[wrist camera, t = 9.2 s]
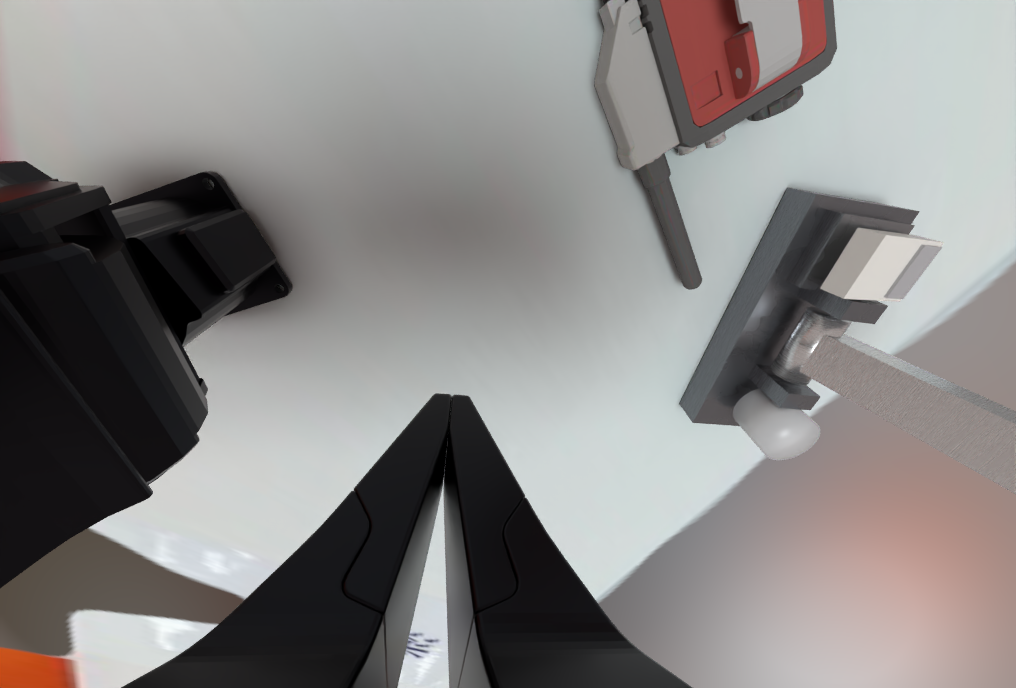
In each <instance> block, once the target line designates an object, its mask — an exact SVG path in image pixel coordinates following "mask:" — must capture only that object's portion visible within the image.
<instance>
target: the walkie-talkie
mask: <svg viewBox="0 0 1016 688" xmlns="http://www.w3.org/2000/svg"><path fill="white" fill-rule="evenodd" d="M603 1H604V4H605V5H604V6H603V7H602V8H601V9H600V10H599V13H600V16H601V19H602V22H603V25H604V33H603V38H602V43H601V49H600V54H599V60H598V65H597V71H596V76H595V88H596V91H597V93H598V96H599V98H600V101H601V104H602V106H603V109H604V112H605V114H606V117H607V120H608V122H609V125H610V128H611V130H612V133H613V135H614V138H615V141H616V143H617V146H618V151H617V155H618V157H619V160H620V162H621V165H622V167H624V168H627V169H630V170H637V169H638V172H639V174H640V177H641V180H642V183H643V185H644V187H647V188H648V191H649V193H650V196H651V199H652V201H653V204H654V207H655V210H656V212H657V215H658V218H659V220H660V223H661V226H662V229H663V231H664V234H665V237H666V240H667V242H668V245H669V248H670V250H671V253H672V256H673V259H674V261H675V264H676V267H677V269H678V272H679V275H680V278H681V280H682V283H683V286H684V287H685V288H687V289H695V288H697V287H699V285H700V284H701V282H702V278H701V274H700V271H699V268H698V265H697V262H696V259H695V256H694V253H693V250H692V247H691V244H690V241H689V238H688V235H687V232H686V229H685V226H684V222H683V219H682V216H681V213H680V210H679V207H678V204H677V201H676V198H675V195H674V192H673V189H672V186H671V183H670V180H669V176H670V173H671V172H670V169H669V166H668V163H667V160H666V157H665V154H664V153H665V152H666V151H668V150H670V149H671V148H675V149H678V152H679V155H685V154H688V153H690V152H692V151H694V150H695V149H696V148H697V146H698V145H700V144H702V143H704V142H705V145H706V148H711V147H714V146H716V145H719V144H720V143H722V142H723V141H725V139H726V136H725V131H726V130H727V129H729V128H731V127H732V126H734V125H736V124H737V123H739V122H740V121H742V120H744V119H745V118H747V119H748V120H751V121H759V120H763V119H766V118H769V117H771V116H774V115H776V114H778V113H781V112H783V111H785V110H787V109H788V108H790V107H792V106H793V105H794V104H796V103H797V102H798V101H799V100H800V98H801V97H802V96H803V86H802V85H801V84H803V83H805V82H806V81H808V80H810V79H811V78H813V77H815V76H816V75H818V74H819V73H821V72H822V71H823V70H824V69H825V68H826V67H828V66H829V65H830V64H831V61H832V59H833V56H834V54H835V52H836V49H837V43H836V30H835V18H834V5H833V0H603Z"/></svg>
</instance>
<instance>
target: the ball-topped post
mask: <svg viewBox="0 0 1016 688" xmlns="http://www.w3.org/2000/svg"><path fill="white" fill-rule="evenodd" d="M850 324H851V321H845V320H839V319H838V318H836V317H834V316H832V315H830V314H828V313H827V312H825V311H823V310H821V309H819V308H818V307H807V309H806V311H805V312H804V314H803V315H802V317H801V319H800V320H799V322H798V323H797V325H796V327H795V328H794V330H793V332H792V333H791V335H790V336H789V338H788V340H787V341H786V343H785V344H784V346H783V348H782V349H781V351H780V352H779V354H778V356H777V357H776V359H775V360H774V362H773V364H772V365H771V367H770V369H771V371H772V372H773V373H774V374H776V375H777V376H779V377H780V378H782V379H784V380H786V381H788V382H791V383H794V384H798V385H807V384H808V383H809V382H810V381H811V379H814V380H815V381H817V382H819V383H821V384H822V385H824V386H826V387H828V388H829V389H831V390H833V391H835V392H837V393H838V394H840V395H842V396H844V397H845V398H847V399H849V400H851V401H852V402H854V403H856V404H858V405H860V406H861V407H863V408H865V409H867V410H868V411H870V412H872V413H874V414H875V415H877V416H879V417H881V418H882V419H884V420H886V421H888V422H890V423H891V424H893V425H895V426H896V427H898V428H900V429H902V430H903V431H905V432H907V433H909V434H911V435H912V436H914V437H916V438H918V439H919V440H921V441H923V442H925V443H927V444H928V445H930V446H932V447H933V448H935V449H937V450H939V451H940V452H942V453H944V454H946V455H948V456H949V457H951V458H953V459H955V460H956V461H958V462H960V463H962V464H963V465H965V466H967V467H969V468H971V469H972V470H974V471H976V472H977V473H979V474H981V475H983V476H984V477H986V478H988V479H990V480H992V481H993V482H995V483H997V484H999V485H1000V486H1002V487H1004V488H1006V489H1007V490H1009V491H1011V492H1013V493H1014V494H1016V411H1014V410H1012V409H1010V408H1007V407H1005V406H1003V405H1001V404H998V403H996V402H994V401H992V400H989V399H987V398H985V397H983V396H981V395H978V394H976V393H974V392H972V391H970V390H967V389H965V388H963V387H960V386H959V385H956V384H954V383H952V382H949V381H947V380H945V379H943V378H941V377H939V376H936V375H934V374H932V373H930V372H927V371H925V370H923V369H921V368H918V367H916V366H914V365H911V364H910V363H907V362H905V361H903V360H901V359H899V358H896V357H894V356H892V355H890V354H888V353H885V352H883V351H881V350H879V349H876V348H874V347H872V346H870V345H868V344H865V343H863V342H861V341H859V340H856V339H854V338H852V337H850V336H848V335H845V334H844V332H845V331H846V330H847V328H848V327H849V325H850Z"/></svg>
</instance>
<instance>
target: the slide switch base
mask: <svg viewBox="0 0 1016 688" xmlns="http://www.w3.org/2000/svg"><path fill="white" fill-rule="evenodd" d="M918 213H919V211H915V210H910V209H905V208H900V207H895V206H890V205H885V204H879V203H874V202H868V201H862V200H856V199H850V198H844V197H838V196H833V195H827V194H821V193H815V192H809V191H803V190H798V189H792V188H787V190H786V192H785V194H784V196H783V198H782V200H781V202H780V204H779V206H778V208H777V210H776V212H775V214H774V216H773V218H772V220H771V222H770V224H769V226H768V228H767V230H766V232H765V234H764V236H763V238H762V240H761V242H760V244H759V246H758V248H757V250H756V252H755V254H754V256H753V258H752V260H751V262H750V264H749V266H748V268H747V270H746V272H745V274H744V276H743V278H742V280H741V282H740V284H739V286H738V288H737V290H736V292H735V294H734V296H733V298H732V300H731V302H730V304H729V306H728V308H727V310H726V312H725V314H724V316H723V318H722V320H721V322H720V324H719V326H718V328H717V330H716V332H715V334H714V336H713V338H712V340H711V342H710V344H709V346H708V348H707V350H706V352H705V354H704V355H703V357H702V359H701V361H700V363H699V365H698V367H697V369H696V371H695V373H694V375H693V377H692V379H691V381H690V383H689V385H688V387H687V389H686V391H685V393H684V395H683V397H682V399H681V401H680V403H679V404H680V405H681V407H682V408H683V410H684V411H685V412H686V414H687V415H688V417H689V418H690V419H691V421H692V422H693V423H705V424H719V425H733V426H740V425H739V424H738V423H737V422H736V421H735V419H734V417H733V409H734V407H735V405H736V403H737V402H738V401H739V400H740V399H741V398H742V397H743V396H744V395H746V394H747V393H749V392H751V391H753V390H756V389H759V388H760V389H761V390H762V391H763V392H764V393H765V394H766V395H767V396H768V397H769V398H770V399H771V400H772V401H774V402H775V403H776V404H777V405H778V406H779V407H780V408H790V409H803V410H811V409H812V407H813V406H814V405H815V403H816V402H817V401H818V399H819V398H820V396H819V395H818V394H816V393H815V392H814V391H813V390H811V389H810V388H809V387H808V386H807V385H798V384H794V383H791V382H788V381H786V380H784V379H782V378H780V377H779V376H777V375H776V374H774V373H773V372H772V371H771V369H770V367H771V365H772V364H773V362H774V360H775V359H776V357H777V356H778V354H779V352H780V351H781V349H782V348H783V346H784V344H785V343H786V341H787V340H788V338H789V336H790V335H791V333H792V332H793V330H794V328H795V327H796V325H797V323H798V322H799V320H800V319H801V317H802V315H803V314H804V312H805V311H806V309H807V307H818V308H819V309H821V310H823V311H825V312H827V313H828V314H830V315H832V316H834V317H836V318H838V319H839V320H845V321H854V322H862V323H871V324H875V323H876V321H877V320H878V319H879V317H880V316H881V315H882V313H883V312H884V311H885V309H886V308H887V307H888V306H887V305H884V304H882V303H880V302H878V301H876V300H857V299H843V298H841V297H838V296H836V295H834V294H831V293H829V292H827V291H824V290H822V289H820V287H821V286H822V284H823V283H824V281H825V279H826V278H827V276H828V275H829V273H830V271H831V270H832V268H833V267H834V265H835V263H836V262H837V260H838V259H839V257H840V255H841V254H842V252H843V250H844V249H845V247H846V246H847V244H848V242H849V241H850V239H851V238H852V236H853V234H854V233H855V231H856V230H857V228H864V229H872V230H879V231H887V232H894V233H902V234H909V233H910V232H911V230H912V229H913V227H914V226H915V225H911V223H912V222H913V220H914V219H915V217H916V216H917V215H918Z"/></svg>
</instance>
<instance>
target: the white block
mask: <svg viewBox="0 0 1016 688" xmlns="http://www.w3.org/2000/svg"><path fill="white" fill-rule="evenodd" d="M943 243H944V242H940V241H936V240H932V239H928V238H924V237H920V236H916V235H909V234H902V233H894V232H887V231H879V230H872V229H864V228H857V230H856V231H855V233H854V234H853V236H852V238H851V239H850V241H849V242H848V244H847V246H846V247H845V249H844V250H843V252H842V254H841V255H840V257H839V259H838V260H837V262H836V263H835V265H834V267H833V268H832V270H831V271H830V273H829V275H828V276H827V278H826V279H825V281H824V283H823V284H822V286H821V287H820V289H822V290H824V291H827V292H829V293H831V294H834V295H836V296H838V297H841V298H843V299H857V300H876V301H895V302H900V300H901V299H903V298H904V297H905V296H906V295H907V293H908V292H909V291H910V289H911V288H912V287H913V285H914V284H915V283H916V281H917V280H918V279H919V277H920V276H921V275H922V273H923V272H924V271H925V269H926V268H927V267H928V266H929V264H930V263H931V262H932V260H933V259H934V258H935V256H936V255H937V254H938V252H939V251H940V250H941V248H942V247H941V246H942V245H943Z"/></svg>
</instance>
